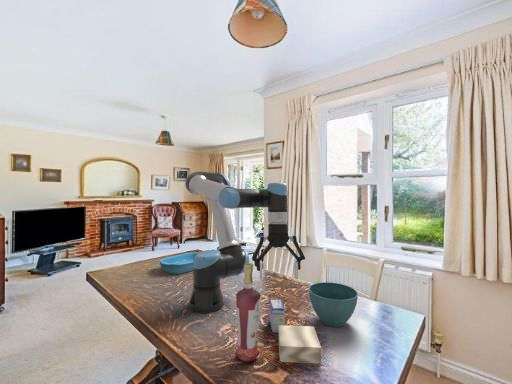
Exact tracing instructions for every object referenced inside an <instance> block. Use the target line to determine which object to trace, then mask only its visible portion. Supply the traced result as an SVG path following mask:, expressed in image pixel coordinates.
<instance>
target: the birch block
mask: <svg viewBox="0 0 512 384" xmlns="http://www.w3.org/2000/svg"><path fill="white" fill-rule="evenodd" d="M277 334H278V335H277V336H278V352H279V354H278V355H279V362H280V361H281V362H280V363H294V362H295V363H301V364H318V363H321V364H322V346H321V343H320V340H319V338H318V335H317V332H316V328H315V326H314V325H313V326H310V325H285V324H284V325H278V332H277Z"/></svg>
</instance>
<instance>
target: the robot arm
mask: <svg viewBox="0 0 512 384" xmlns="http://www.w3.org/2000/svg"><path fill="white" fill-rule="evenodd" d="M184 182H185V183H184V186H185V189H186V190H187V191H188V192H189V193H191V194H192V195H196V196H199V195H200V196H203V197H205V199H206V200H207V202H209V204H210V205H209V206H210V209H211V213H212V218H213V223H214V226H215V231H216V235H217V241H218V245H219V247H218V248H217V249H208V250H204V251H203V250H202V251H200V252H197V253H198V254H196V255H195V257H194V263H193V270H192V271H193V272H192V275H193V278H192V281H193V282H192V285H193V286H192V291H191V294H190V297H189V300H188V308H189V310H190V311H192V312H195V313H201V314H204V313H205V314H206V313H207V314H208V313H214V312H217V311H219V310H220V309H222V308H223V307H224V306H225V305H224V304H225V303H224V302H225V300H224V295H223V292H222V289H221V280H222V279H225V278H227V279H228V278H231V277H235V276H239V275H242V274H245V272H244V264H245V263H250V255H249V252H248V251H247V250H246V249H244V248H243V247H242V245H241V243H240V242H238V241H237V237H236V234H235V229H234V225H233V221H232V216H231V214H230V209H231V210H233V209H241V208H242V209H246V208H248V209H250V208H253V209H255V208H267V221H268V224H267V229H268V232H267V233H268V235H267V236H264V235H260V237H259V242H258V244H257V246H256V248H255V250H254V253H252V256H251V261H253V262H256V271H257V272H259V280H260V281H263V262H262V260H263V258H265V256H266V255H267V254H268V253H269V251H270V250H271V249H272V248H274V249H277V248H280V249H283V248H286V249H287V251H289V253H290V254H291V256H293V257H294V259H295V260H294V262H293V264H294V266H293V267H294V279H295V280H299V270H301V269H302V267H301V266H302V265H301V262H302V261H304V260H306V256H305V255H304V253H303V250H302V249H301V246H300V244H299V243H298V241H297V235H295V234H292V235H289V224H288V223H287V222H288V221H289V220H288V195H289V194H288V186H287V184H286V183H284V182H269V183H268V184H267V188H258V189H257V188H236V187H233V186H231V183H230V182H231V181H230V179H229V177H228V176H227V175H226V174H224V173H221V172H208V171H194V172H192V173H190V174H188V176H186V179H185V181H184ZM289 240H290V242H292V243H293V245H294V247H295V248H296V251H297V253H298V255H299V256H298V255H297V253H296V252H295V251H294V250H293V249H292V247H291V246H290V245H289V244H288V242H289ZM267 241H268V244H267V245H266V247H265V248H264V249H263V250H262V251H261V249H262V247H263V244H264V243H265V242H267ZM260 251H261V253H260ZM259 253H260V254H259Z"/></svg>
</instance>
